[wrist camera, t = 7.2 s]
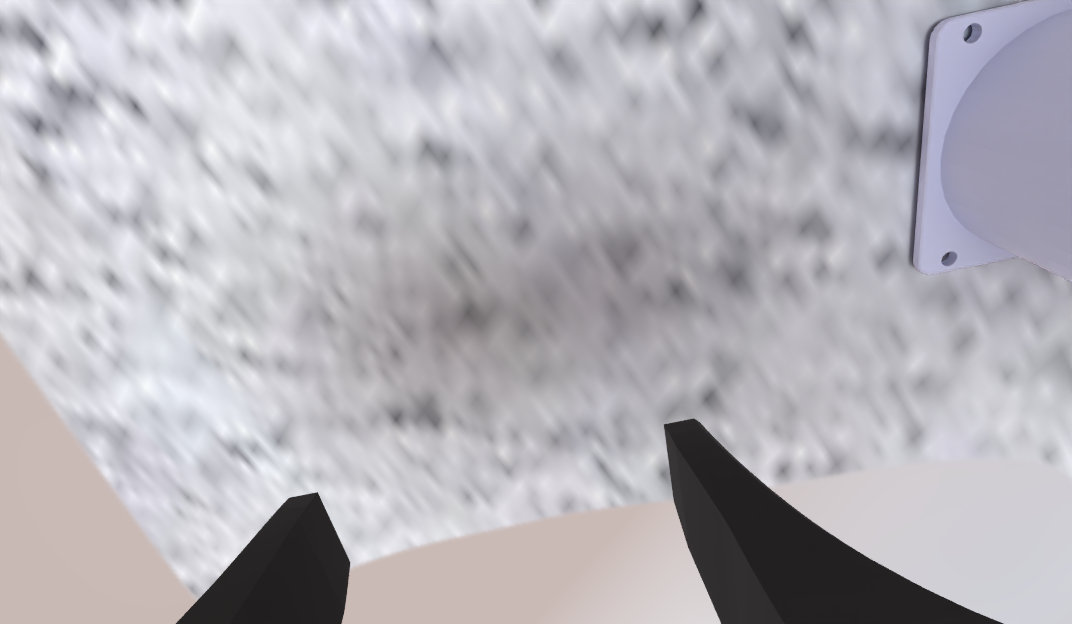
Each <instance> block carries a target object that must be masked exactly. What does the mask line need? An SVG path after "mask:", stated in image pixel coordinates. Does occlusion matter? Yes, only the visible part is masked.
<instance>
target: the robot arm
mask: <svg viewBox="0 0 1072 624" xmlns="http://www.w3.org/2000/svg"><path fill="white" fill-rule="evenodd" d="M969 25H971V26H972V30H973V31H972V34H971V37H970V38H969V39H968V40H967V41H964V38H963V34H964V31H965V29H966V28H967V27H968V26H969ZM948 252H950V254H949V256H948V258H947V259H946V260H944V261H942V262H941V260H942V257H943V256H944V255H945V254H946V253H948ZM1017 257H1021V258H1023V259H1025V260H1027V261H1029V262H1031V263H1033V264H1035V265H1037V266H1039V267H1041V268H1043V269H1045V270H1047V271H1049V272H1052V273H1054V274H1056V275H1058V276H1060V277H1062V278H1064V279H1066V280H1068V281H1070V282H1072V0H1029V1H1024V2H1019V3H1015V4H1010V5H1006V6H1001V7H996V8H992V9H987V10H983V11H978V12H974V13H969V14H964V15H960V16H955V17H951V18H947V19H945V20H943V21H941V22H940V23H939V24H938V25H937V26H936V27H935V28H934V30H933V32H932V33H931V37H930V43H929V56H928V69H927V83H926V96H925V109H924V123H923V136H922V149H921V162H920V176H919V189H918V202H917V215H916V229H915V242H914V255H913V264H914V267H915V268H916V269H917V270H918V271H920V272H921V273H923V274H926V275H934V274H939V273H944V272H948V271H953V270H958V269H963V268H968V267H973V266H978V265H983V264H988V263H993V262H998V261H1003V260H1007V259H1012V258H1017ZM664 429H665V437H666V444H667V452H668V459H669V467H670V475H671V482H672V490H673V498H674V503H675V506H676V509H677V512H678V516H679V519H680V522H681V525H682V529H683V531H684V535H685V538H686V541H687V545H688V548H689V550H690V552H691V555H692V557H693V559H694V562H695V564H696V566H697V568H698V571H699V573H700V576H701V578H702V580H703V582H704V584H705V587H706V589H707V592H708V594H709V596H710V599H711V601H712V603H713V605H714V608H715V610H716V612H717V614H718V617H719V619H720V621H721V624H1003V623H1001V622H998V621H995V620H993V619H990V618H988V617H986V616H983V615H981V614H979V613H976V612H974V611H971V610H969V609H967V608H965V607H963V606H961V605H958V604H956V603H954V602H952V601H950V600H948V599H946V598H944V597H941V596H939V595H937V594H935V593H933V592H931V591H929V590H927V589H925V588H922V587H921V586H919V585H917V584H915V583H913V582H911V581H910V580H908V579H906V578H904V577H902V576H900V575H899V574H897V573H895V572H893V571H891V570H889V569H888V568H886V567H884V566H882V565H880V564H878V563H877V562H875V561H873V560H871V559H869V558H868V557H866V556H864V555H863V554H861V553H860V552H858V551H856V550H855V549H853V548H851V547H850V546H848V545H846V544H845V543H843V542H842V541H840V540H839V539H837V538H836V537H834V536H833V535H831V534H830V533H828V532H827V531H825V530H824V529H822V528H821V527H820V526H818V525H817V524H815V523H814V522H812V521H811V520H810V519H808V518H807V517H805V516H804V515H803V514H801V513H800V512H799V511H797V510H796V509H795V508H794V507H792V506H791V505H789V504H788V503H787V502H786V501H785V500H783V499H782V498H781V497H779V496H778V495H777V494H775V493H774V492H773V491H772V490H771V489H770V488H768V487H767V486H766V485H765V484H764V483H763V482H761V481H760V480H759V479H758V478H757V477H756V476H754V475H753V474H752V473H751V472H750V471H749V470H748V469H746V468H745V467H744V466H743V465H742V464H741V463H740V462H739V461H738V460H737V459H735V458H734V457H733V456H732V455H731V454H730V453H729V452H728V451H727V450H726V449H725V448H724V447H723V446H722V445H721V444H720V443H719V442H718V441H717V440H716V439H715V438H714V437H713V436H712V435H711V434H710V433H709V432H708V431H707V430H706V429H705V428H704V426H703V425H702V424H701V423H700V422H698V421H697V420H695V419H689V420H684V421H679V422H674V423H669V424H664ZM349 569H350V561H349V559H348V557H347V554H346V552H345V550H344V548H343V546H342V544H341V542H340V539H339V537H338V535H337V533H336V531H335V529H334V527H333V524H332V522H331V520H330V518H329V516H328V514H327V511H326V509H325V507H324V505H323V503H322V501H321V499H320V496H319V494H318V492H317V493H312V494H306V495H301V496H296V497H291V498H289V499H288V500H287V501H286V502H285V503H284V504H283V505H282V506H281V507H280V508H279V509H278V510H277V511H276V513H275V514H274V515H273V516H272V517H271V518H270V519H269V521H268V522H267V523H266V524H265V525H264V526H263V527H262V529H261V530H260V531H259V532H258V533H257V534H256V536H255V537H254V538H253V539H252V540H251V541H250V543H249V544H248V545H247V546H246V547H245V548H244V550H243V551H242V552H241V553H240V554H239V555H238V556H237V558H236V559H235V560H234V561H233V562H232V563H231V564H230V566H229V567H228V568H227V569H226V570H225V571H224V572H223V574H222V575H221V576H220V577H219V578H218V579H217V580H216V581H215V583H214V584H213V585H212V586H211V587H210V588H209V589H208V590H207V591H206V592H205V593H204V594H203V595H202V596H201V597H200V599H199V600H198V601H197V602H196V603H195V604H194V605H193V606H192V607H191V608H190V609H189V610H188V611H187V612H186V613H185V614H184V616H183V617H182V618H181V619H180V620H179V621H178V622H177V623H176V624H341V623H342V619H343V615H344V610H345V602H346V595H347V587H348V577H349Z"/></svg>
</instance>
